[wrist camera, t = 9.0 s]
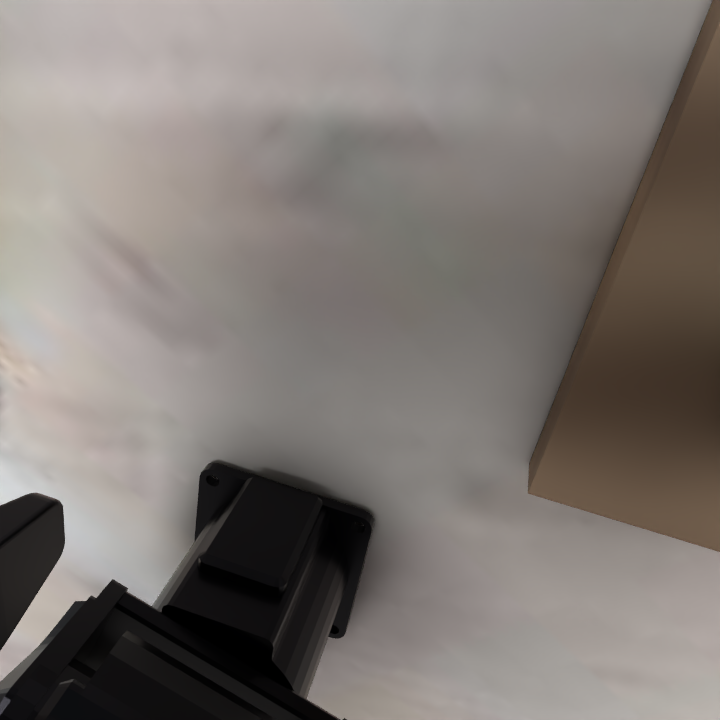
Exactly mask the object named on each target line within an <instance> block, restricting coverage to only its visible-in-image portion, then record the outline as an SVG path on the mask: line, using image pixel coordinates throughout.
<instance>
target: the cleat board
mask: <svg viewBox="0 0 720 720" xmlns="http://www.w3.org/2000/svg"><path fill="white" fill-rule="evenodd" d="M528 493H529V494H532V495H535V496H538V497H542V498H545V499H548V500H551V501H555V502H558V503H561V504H565V505H568V506H571V507H574V508H578V509H581V510H584V511H588V512H591V513H594V514H597V515H601V516H604V517H607V518H611V519H614V520H617V521H620V522H624V523H627V524H630V525H633V526H637V527H640V528H643V529H647V530H650V531H653V532H656V533H660V534H663V535H666V536H670V537H673V538H676V539H679V540H683V541H686V542H689V543H693V544H696V545H699V546H702V547H706V548H709V549H712V550H715V551H719V552H720V0H713V1H712V4H711V6H710V9H709V11H708V14H707V16H706V19H705V21H704V24H703V26H702V29H701V31H700V34H699V36H698V39H697V42H696V44H695V47H694V49H693V52H692V54H691V57H690V59H689V62H688V64H687V67H686V69H685V72H684V74H683V77H682V79H681V82H680V84H679V87H678V89H677V92H676V95H675V97H674V100H673V102H672V105H671V107H670V110H669V112H668V115H667V117H666V120H665V122H664V125H663V127H662V130H661V132H660V135H659V137H658V140H657V143H656V145H655V148H654V150H653V153H652V155H651V158H650V160H649V163H648V165H647V168H646V170H645V173H644V175H643V178H642V180H641V183H640V185H639V188H638V190H637V193H636V196H635V198H634V201H633V203H632V206H631V208H630V211H629V213H628V216H627V218H626V221H625V223H624V226H623V228H622V231H621V233H620V236H619V238H618V241H617V244H616V246H615V249H614V251H613V254H612V256H611V259H610V261H609V264H608V266H607V269H606V271H605V274H604V276H603V279H602V281H601V284H600V286H599V289H598V291H597V294H596V297H595V299H594V302H593V304H592V307H591V309H590V312H589V314H588V317H587V319H586V322H585V324H584V327H583V329H582V332H581V334H580V337H579V339H578V342H577V345H576V347H575V350H574V352H573V355H572V357H571V360H570V362H569V365H568V367H567V370H566V372H565V375H564V377H563V380H562V382H561V385H560V387H559V390H558V392H557V395H556V398H555V400H554V403H553V405H552V408H551V410H550V413H549V415H548V418H547V420H546V423H545V425H544V428H543V430H542V433H541V435H540V438H539V440H538V443H537V446H536V448H535V451H534V453H533V456H532V458H531V461H530V463H529V480H528Z"/></svg>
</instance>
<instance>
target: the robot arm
mask: <svg viewBox="0 0 720 720" xmlns="http://www.w3.org/2000/svg"><path fill="white" fill-rule="evenodd" d="M212 475H214V476H215V477H217V478H218V480H217V479H215V478H213V476H212ZM355 522H360V523H362V524H363V525H364V526H361V525H358V524H356V523H355ZM373 527H374V518H373V516H372V515H371V514H370V513H369V512H367V511H365V510H363V509H360V508H357V507H354V506H350V505H347V504H344V503H341V502H338V501H335V500H332V499H328V498H325V497H322V496H319V495H316V494H313V493H310V492H306V491H303V490H300V489H297V488H294V487H291V486H288V485H284V484H281V483H278V482H275V481H272V480H269V479H266V478H262V477H259V476H256V475H253V474H250V473H247V472H244V471H240V470H237V469H234V468H231V467H228V466H225V465H221V464H218V463H210V464H208V465H207V466H206V467H205V468H204V470H203V471H202V472H201V475H200V480H199V493H198V505H197V518H196V530H195V542H194V544H193V545H192V547H191V548H190V550H189V551H188V553H187V554H186V556H185V557H184V559H183V560H182V562H181V563H180V565H179V566H178V568H177V569H176V571H175V572H174V574H173V575H172V577H171V578H170V580H169V582H168V583H167V585H166V586H165V588H164V589H163V591H162V592H161V594H160V595H159V597H158V598H157V600H156V601H155V603H154V604H153V606H150V605H148V604H147V603H145V602H143V601H142V600H140V599H138V598H137V597H135V596H133V595H132V594H130V593H128V592H127V590H128V588H126V587H125V586H123V585H121V584H120V583H118V582H116V581H115V580H113V579H112V580H111V582H110V583H109V584H108V585H107V586H106V587H105V589H104V590H103V591H102V592H101V593H100V594H99V596H98V597H97V598H95V597H93V596H92V595H91V596H90V597H89V599H88V600H87V601H75V602H74V604H73V605H72V606H71V607H70V609H69V610H68V611H67V612H66V614H65V615H64V616H63V617H62V619H61V620H60V621H59V622H58V624H57V625H56V626H55V627H54V629H53V630H52V631H51V632H50V634H49V635H48V636H47V637H46V638H45V639H44V641H43V642H42V643H41V644H40V645H39V646H38V647H37V648H36V649H35V650H34V651H33V652H32V653H31V654H30V655H29V656H28V657H27V658H26V659H25V660H23V661H22V662H21V663H20V664H19V665H18V666H17V667H16V668H15V669H14V670H13V671H11V672H10V673H9V674H8V675H7V676H6V677H5V678H4V679H3V680H2V681H1V682H0V720H340V719H338V718H337V717H335V716H333V715H332V714H330V713H328V712H327V711H325V710H323V709H322V708H320V707H318V706H317V705H315V704H313V703H312V702H310V701H308V700H307V699H306V698H307V695H308V693H309V690H310V687H311V684H312V681H313V678H314V676H315V673H316V670H317V667H318V664H319V661H320V659H321V656H322V653H323V650H324V647H325V644H326V641H327V639H328V637H331V638H341V637H343V636H344V635H345V632H346V629H347V626H348V623H349V619H350V615H351V611H352V607H353V604H354V600H355V596H356V592H357V588H358V585H359V581H360V577H361V573H362V569H363V566H364V562H365V558H366V554H367V550H368V546H369V543H370V539H371V535H372V531H373ZM64 544H65V533H64V515H63V505H62V504H61V502H60V501H59V500H57V499H54V498H51V497H48V496H46V495H43V494H39V493H30V494H27V495H24V496H22V497H20V498H17V499H15V500H12V501H10V502H8V503H5V504H3V505H1V506H0V650H1V649H2V647H3V646H4V644H5V643H6V641H7V640H8V638H9V637H10V635H11V634H12V632H13V631H14V629H15V627H16V626H17V624H18V623H19V621H20V620H21V618H22V616H23V615H24V613H25V612H26V610H27V609H28V607H29V605H30V604H31V602H32V601H33V599H34V598H35V596H36V594H37V593H38V591H39V590H40V588H41V587H42V585H43V583H44V582H45V580H46V579H47V577H48V576H49V574H50V572H51V571H52V569H53V568H54V566H55V565H56V563H57V561H58V560H59V558H60V556H61V554H62V552H63V549H64ZM343 720H346V719H345V718H344V719H343Z"/></svg>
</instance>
